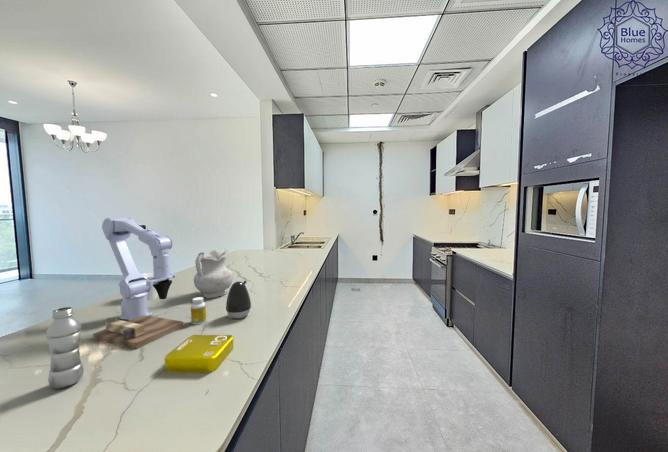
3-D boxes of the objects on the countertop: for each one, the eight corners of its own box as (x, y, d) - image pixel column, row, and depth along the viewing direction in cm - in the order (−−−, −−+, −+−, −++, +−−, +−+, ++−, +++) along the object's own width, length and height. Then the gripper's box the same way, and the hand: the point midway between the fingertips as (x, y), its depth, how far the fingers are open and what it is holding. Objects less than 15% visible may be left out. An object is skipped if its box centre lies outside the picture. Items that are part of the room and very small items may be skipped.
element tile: (192, 346, 90) (191, 332, 90) (235, 347, 89) (235, 333, 89) (161, 373, 75) (161, 356, 75) (214, 374, 74) (213, 357, 74)
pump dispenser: (256, 313, 118) (255, 279, 117) (241, 322, 108) (240, 285, 107) (237, 310, 121) (236, 277, 121) (220, 319, 112) (219, 283, 111)
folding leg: (104, 329, 97) (103, 319, 97) (113, 326, 100) (112, 316, 100) (135, 337, 91) (135, 326, 91) (144, 333, 94) (144, 322, 94)
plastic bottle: (64, 377, 73) (59, 305, 72) (91, 375, 74) (86, 304, 72) (40, 393, 67) (35, 314, 65) (69, 391, 67) (65, 313, 66)
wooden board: (93, 339, 95) (92, 325, 95) (143, 319, 112) (143, 308, 112) (136, 348, 88) (135, 334, 88) (183, 326, 105) (183, 314, 105)
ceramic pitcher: (220, 304, 134) (223, 254, 132) (182, 301, 134) (184, 252, 133) (237, 291, 155) (239, 249, 154) (204, 289, 155) (206, 246, 154)
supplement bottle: (200, 325, 106) (199, 301, 106) (188, 324, 107) (187, 300, 107) (208, 319, 111) (208, 296, 111) (197, 318, 112) (196, 296, 112)
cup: (157, 293, 149) (156, 271, 148) (166, 297, 142) (165, 274, 141) (132, 298, 139) (130, 275, 139) (140, 303, 132) (139, 278, 132)
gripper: (157, 270, 102) (159, 305, 102) (182, 262, 116) (183, 293, 117) (140, 269, 102) (142, 304, 103) (167, 262, 117) (168, 293, 118)
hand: (162, 298), depth 110 cm, fingers closed
